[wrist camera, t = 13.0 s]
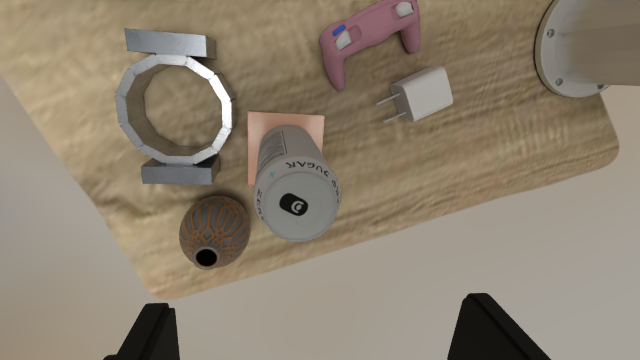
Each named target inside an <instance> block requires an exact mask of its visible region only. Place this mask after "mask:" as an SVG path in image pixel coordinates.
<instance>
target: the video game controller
mask: <svg viewBox="0 0 640 360" xmlns="http://www.w3.org/2000/svg"><path fill="white" fill-rule="evenodd" d="M399 30H400V32H401V37H402V40H403V43H404V46H405V48H406V50H407V51H408V52H409V53H411V54H414V53H416V52H417V50H418V48H419V45H420V15H419V9H418V5H417V1H416V0H382V1H380V2H378V3H375V4H373V5H371V6H369V7H367V8H365V9H364V10H362V11H360V12H358V13H357V14H355V15H353V16H352V17H350V18H349V19H347V20H343V21H339V22H336V23H334V24H333V25H331V26H330V27H328V28H327V29H326V30H325V31H324V32H323V34H322V35H321V37H320V40H319V43H320V45H321V47H322V54H323V60H324V65H325V68H326V71H327V74H328V76H329V79H330V81H331V83H332V84H333V86H334V87H335V88H336V89H337V90H343V89H344V87H345V75H344V60H345V59H346V58H347V57H349V56H351V55H353V54H355V53H356V52H358V51H360V50H362V49H363V48H366V47H371V46H374V45H377V44H379V43H381V42H383V41H384V40H385V39H387V38H388V37H389V36H390V35H391V34H393V33H395V32H397V31H399Z"/></svg>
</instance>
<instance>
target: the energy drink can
mask: <svg viewBox="0 0 640 360" xmlns="http://www.w3.org/2000/svg"><path fill="white" fill-rule="evenodd" d="M340 202H341V188H340V184H339V181H338V179H337V177H336V175H335V174H334V172H333V171H332V169H331V167H330V166H329V164H328V163H327V161H326V159H325V158H324V156H323V155H322V153H321V151H320V150H319V148H318V147H317V145H316V144H315V142H314V140H313V139H312V137H311V136H310V135H309V134H308V132H306V131H305V130H304V129H302V128H300V127H298V126H294V125H282V126H278V127H276V128H274V129H272V130H270V131H269V132H268V133H267V134H266V135H265V137H264V138H263V139H262V142H261V144H260V148H259V155H258V163H257V171H256V179H255V187H254V206H255V210H256V213H257V215H258V217H259V218H260V220H261V221H262V222H263V224H264V225H266V226H267V227H268V228H269V229H270V230H271V231H272V232H273V233H274V234H275V235H277V236H278V237H280V238H282V239H285V240H288V241H293V242H304V241H309V240H312V239H314V238H317V237H318V236H320V235H322V234H323V233H324V232H325V231H327V230H328V228H329V227H330V226H331V225H332V223H333V221H334V219H335V217H336V214H337V211H338V209H339V205H340Z"/></svg>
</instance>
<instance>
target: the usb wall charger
mask: <svg viewBox="0 0 640 360" xmlns="http://www.w3.org/2000/svg"><path fill="white" fill-rule="evenodd" d="M390 88H391V91H392V95H391V96H389V97H387V98H385V99H383V100H381V101H378V102H376V103H375V104H376V105H378V104H381V103H383V102H385V101H387V100H389V99H392V98H394V101H395V104H396V107H397V110H398V114H395V115H393V116H391V117H389V118H387V119H385V120H383V121H381V122H382V123H385V122H388V121H390V120H392V119H394V118H397V117H399V116H400V117H401V118H402V119H404V120H407V121H410V122H415V121H417V120H419V119H421V118H423V117H426V116H428V115H430V114H432V113H434V112H436V111H439V110H441V109H443V108H445V107H447V106H449V105H452V104H453V97H452V93H451V89H450V86H449V82H448V78H447V74H446V71H445V69H444V68H443V67H441V66H439V67H427V68H425V69H423V70H421V71H418V72H416V73H414V74H412V75H410V76H408V77H406V78H403V79H401V80H399V81H397V82H395V83H393V84H391V85H390Z"/></svg>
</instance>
